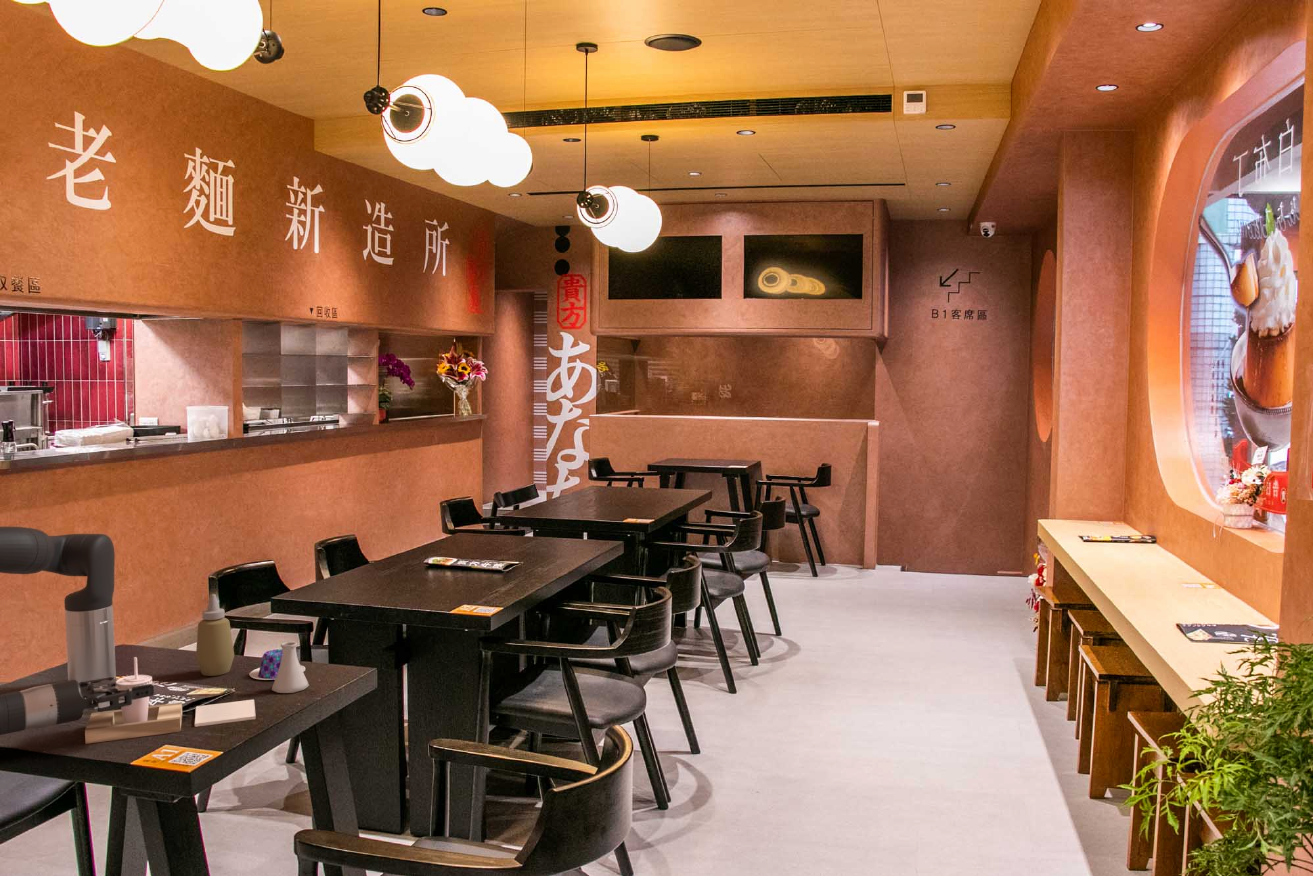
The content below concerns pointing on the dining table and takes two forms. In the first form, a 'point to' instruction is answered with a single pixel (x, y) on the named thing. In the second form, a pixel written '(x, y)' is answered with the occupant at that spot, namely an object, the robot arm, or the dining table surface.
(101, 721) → the collar
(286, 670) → the flask
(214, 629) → the squeeze bottle
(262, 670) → the pudding
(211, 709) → the ceramic pad
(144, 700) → the smoothie
